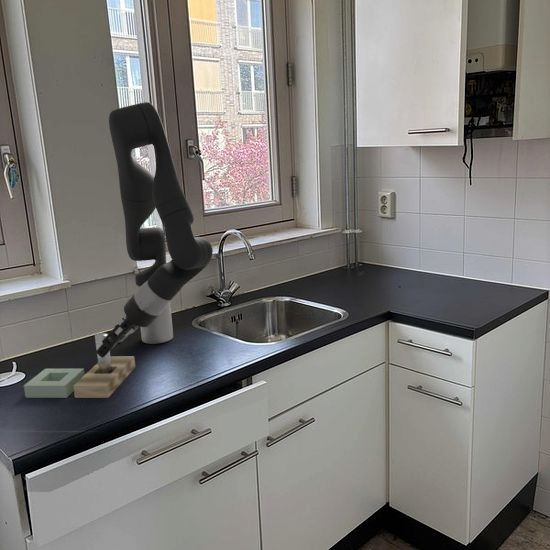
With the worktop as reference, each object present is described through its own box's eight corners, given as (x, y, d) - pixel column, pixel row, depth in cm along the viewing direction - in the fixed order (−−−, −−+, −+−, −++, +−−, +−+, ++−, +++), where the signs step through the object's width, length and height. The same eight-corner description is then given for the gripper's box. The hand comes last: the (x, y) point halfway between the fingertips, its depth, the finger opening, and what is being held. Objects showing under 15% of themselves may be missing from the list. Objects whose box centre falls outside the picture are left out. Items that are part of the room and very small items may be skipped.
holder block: (47, 379, 139) (45, 368, 139) (85, 379, 138) (83, 368, 138) (25, 397, 130) (23, 385, 129) (66, 397, 129) (64, 385, 128)
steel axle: (103, 379, 138) (97, 333, 135) (115, 379, 138) (109, 332, 135) (98, 384, 135) (92, 337, 133) (110, 384, 135) (104, 337, 132)
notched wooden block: (105, 367, 146) (104, 356, 145) (135, 367, 145) (134, 356, 144) (74, 397, 128) (73, 385, 128) (108, 397, 127) (106, 385, 127)
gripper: (148, 284, 136) (110, 328, 141) (122, 299, 123) (81, 348, 127) (171, 305, 136) (132, 348, 141) (147, 323, 123) (105, 370, 128)
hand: (108, 348), depth 134 cm, fingers open, 8 cm apart
